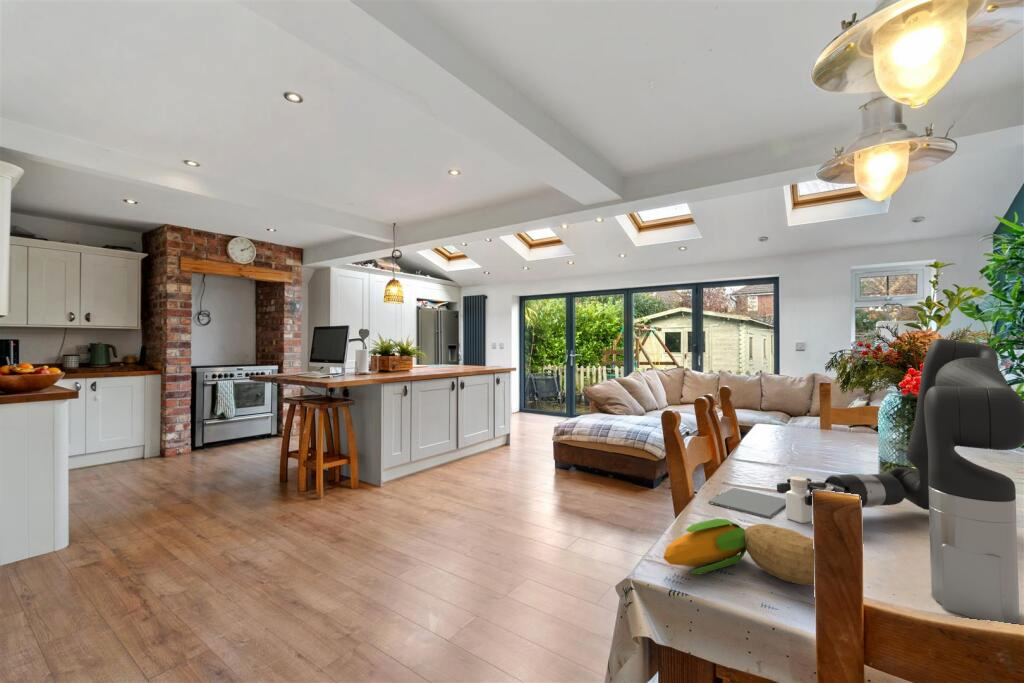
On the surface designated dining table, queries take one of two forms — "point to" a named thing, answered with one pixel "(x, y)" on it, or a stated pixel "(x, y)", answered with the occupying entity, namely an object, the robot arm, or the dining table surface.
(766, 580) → the dining table surface
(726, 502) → the slate mat
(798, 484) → the pepper shaker
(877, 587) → the dining table surface
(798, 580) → the potato
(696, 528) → the corn
